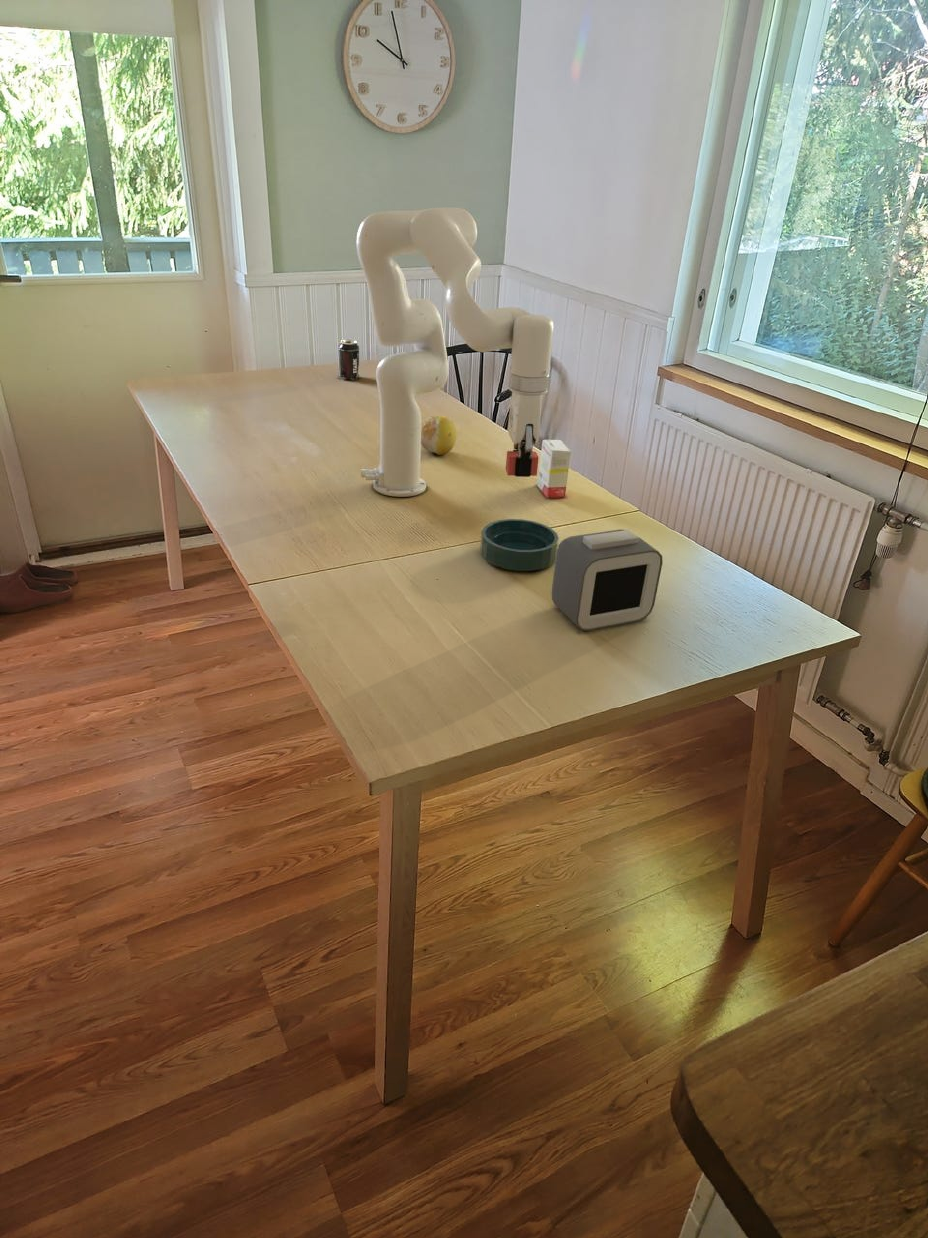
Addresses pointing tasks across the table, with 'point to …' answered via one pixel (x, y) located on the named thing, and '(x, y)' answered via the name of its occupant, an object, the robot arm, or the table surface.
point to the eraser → (512, 460)
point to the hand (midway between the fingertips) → (520, 471)
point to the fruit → (438, 434)
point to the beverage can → (348, 359)
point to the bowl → (519, 544)
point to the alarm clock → (605, 579)
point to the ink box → (553, 468)
